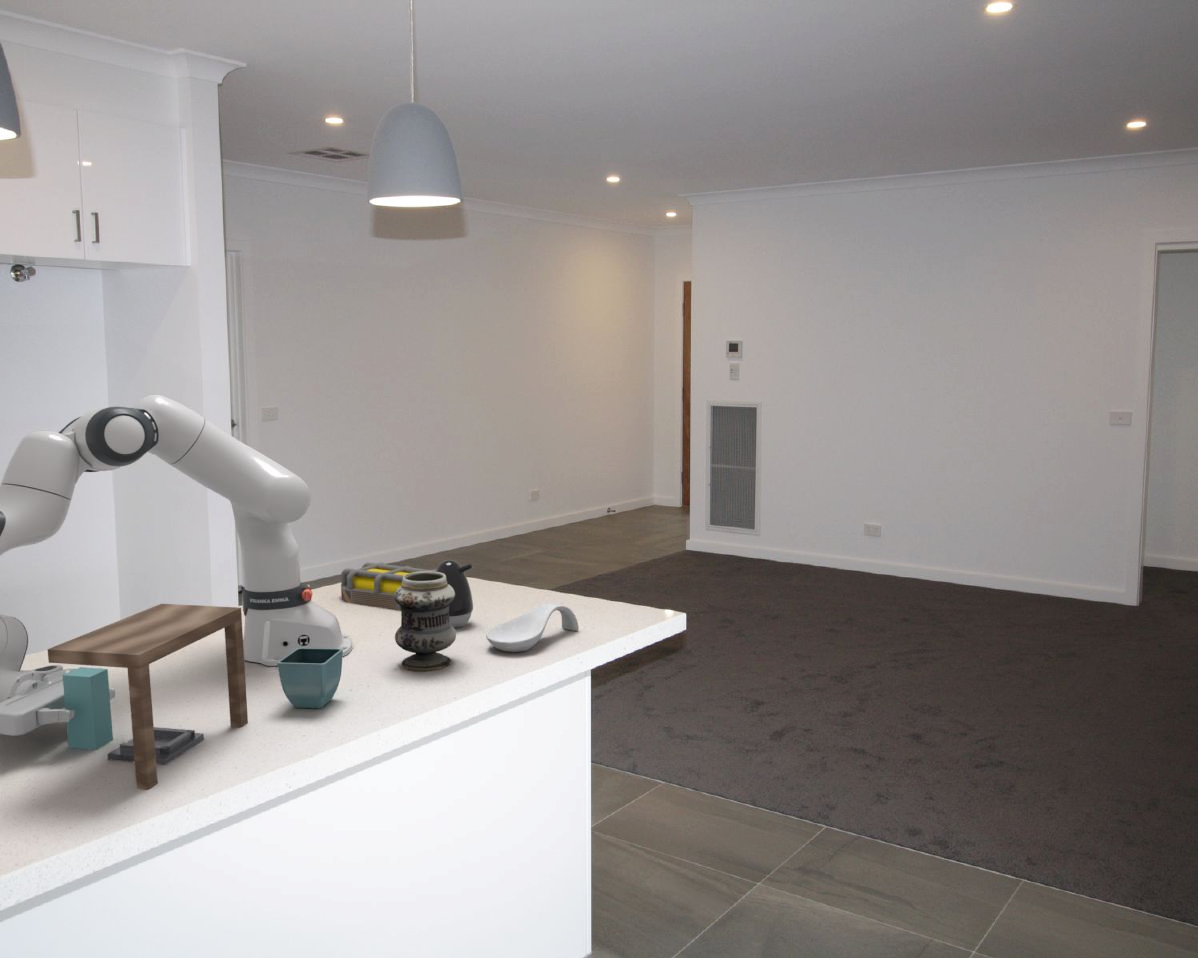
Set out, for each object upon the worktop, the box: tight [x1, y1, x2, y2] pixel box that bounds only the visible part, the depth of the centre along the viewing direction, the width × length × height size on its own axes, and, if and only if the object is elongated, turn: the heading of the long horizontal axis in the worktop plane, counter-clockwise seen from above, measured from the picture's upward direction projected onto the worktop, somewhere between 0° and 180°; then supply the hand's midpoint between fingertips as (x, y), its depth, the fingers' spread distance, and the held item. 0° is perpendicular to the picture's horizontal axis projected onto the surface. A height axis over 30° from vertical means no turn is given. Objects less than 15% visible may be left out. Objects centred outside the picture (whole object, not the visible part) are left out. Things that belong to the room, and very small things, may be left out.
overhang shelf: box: [47, 603, 249, 790], centre depth 157 cm, size 15×26×20 cm, turn 168°
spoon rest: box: [485, 602, 580, 653], centre depth 214 cm, size 24×12×7 cm, turn 140°
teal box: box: [63, 666, 114, 751], centre depth 160 cm, size 5×4×12 cm
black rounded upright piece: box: [435, 559, 474, 629], centre depth 226 cm, size 10×10×15 cm
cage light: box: [340, 562, 437, 611], centre depth 250 cm, size 15×8×30 cm
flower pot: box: [276, 648, 343, 709], centre depth 178 cm, size 9×9×9 cm
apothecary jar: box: [394, 571, 457, 672], centre depth 199 cm, size 12×12×18 cm
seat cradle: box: [107, 726, 205, 766], centre depth 159 cm, size 10×10×2 cm
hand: (92, 704), depth 160 cm, fingers open, 8 cm apart
